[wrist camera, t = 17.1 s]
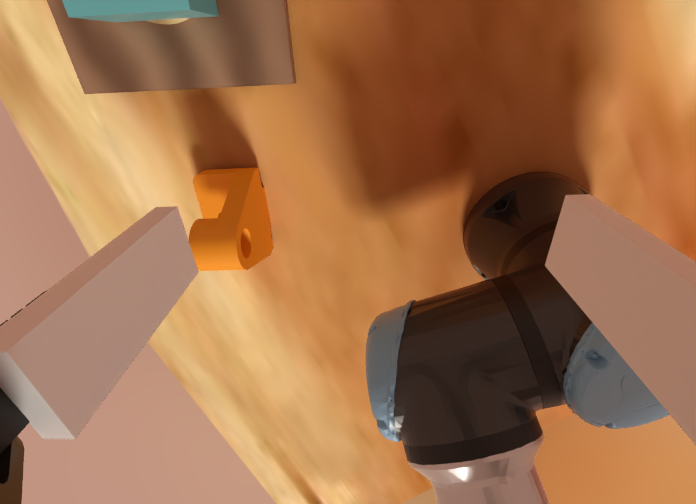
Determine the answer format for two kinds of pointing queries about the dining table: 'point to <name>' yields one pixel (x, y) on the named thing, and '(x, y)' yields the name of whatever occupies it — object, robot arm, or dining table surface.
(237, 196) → the bracket
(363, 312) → the dining table surface
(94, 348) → the robot arm
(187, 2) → the collar
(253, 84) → the post base
